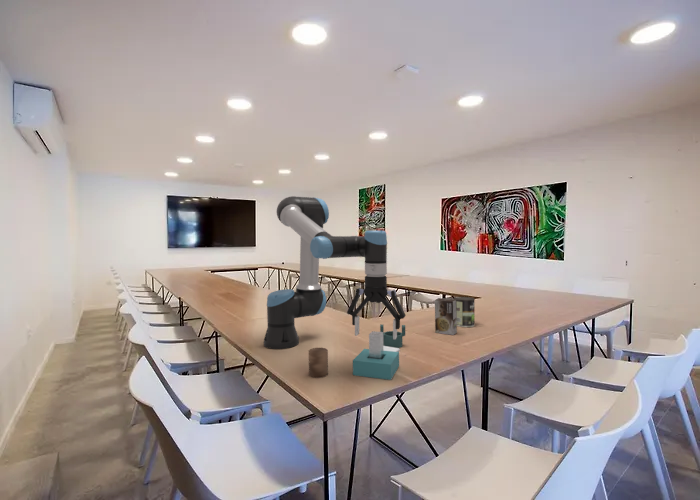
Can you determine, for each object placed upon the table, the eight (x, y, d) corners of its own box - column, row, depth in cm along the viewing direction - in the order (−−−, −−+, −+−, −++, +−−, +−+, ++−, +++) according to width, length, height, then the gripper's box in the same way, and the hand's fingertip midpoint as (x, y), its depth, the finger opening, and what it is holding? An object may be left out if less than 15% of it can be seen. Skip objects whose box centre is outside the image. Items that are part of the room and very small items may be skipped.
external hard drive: (400, 352, 140) (386, 361, 130) (382, 349, 144) (367, 357, 134) (400, 348, 140) (386, 357, 129) (381, 345, 144) (367, 353, 134)
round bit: (305, 376, 115) (305, 352, 115) (314, 369, 121) (313, 346, 121) (323, 378, 113) (322, 354, 113) (331, 371, 119) (330, 348, 119)
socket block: (352, 375, 115) (352, 360, 115) (364, 362, 128) (364, 348, 128) (391, 379, 111) (390, 364, 111) (399, 365, 123) (399, 352, 123)
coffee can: (476, 324, 182) (476, 297, 182) (472, 328, 174) (471, 300, 173) (457, 321, 188) (457, 296, 188) (451, 325, 179) (451, 298, 179)
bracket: (407, 346, 146) (407, 325, 146) (390, 349, 142) (389, 328, 141) (394, 341, 154) (394, 321, 154) (377, 344, 149) (377, 323, 149)
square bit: (369, 368, 118) (369, 334, 118) (372, 364, 122) (372, 331, 122) (380, 370, 117) (380, 335, 116) (383, 366, 121) (383, 332, 120)
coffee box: (457, 332, 167) (457, 299, 166) (453, 335, 161) (453, 301, 161) (438, 329, 172) (438, 297, 171) (434, 332, 166) (434, 299, 166)
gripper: (337, 275, 119) (338, 335, 120) (410, 278, 111) (409, 343, 112) (345, 272, 126) (345, 330, 127) (413, 275, 118) (413, 336, 119)
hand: (375, 336), depth 119 cm, fingers open, 13 cm apart
